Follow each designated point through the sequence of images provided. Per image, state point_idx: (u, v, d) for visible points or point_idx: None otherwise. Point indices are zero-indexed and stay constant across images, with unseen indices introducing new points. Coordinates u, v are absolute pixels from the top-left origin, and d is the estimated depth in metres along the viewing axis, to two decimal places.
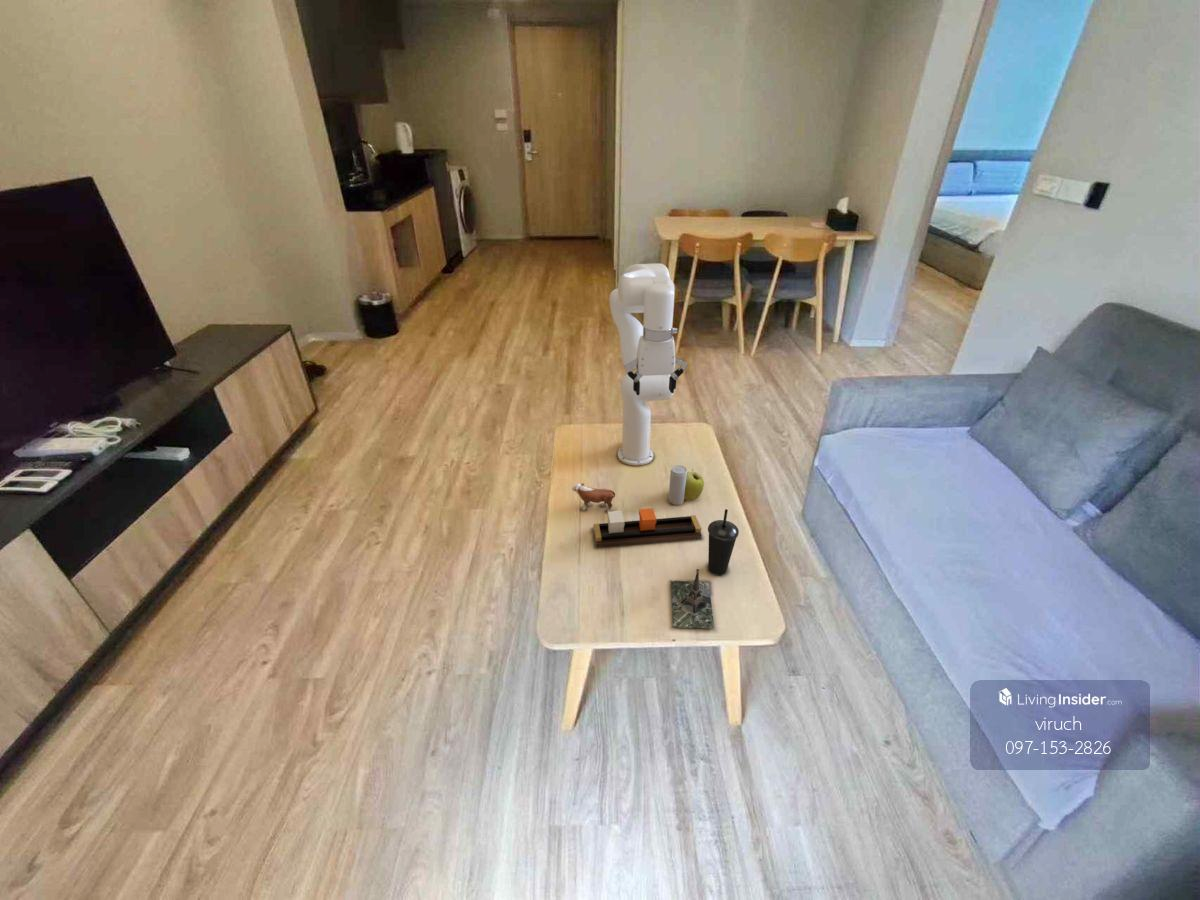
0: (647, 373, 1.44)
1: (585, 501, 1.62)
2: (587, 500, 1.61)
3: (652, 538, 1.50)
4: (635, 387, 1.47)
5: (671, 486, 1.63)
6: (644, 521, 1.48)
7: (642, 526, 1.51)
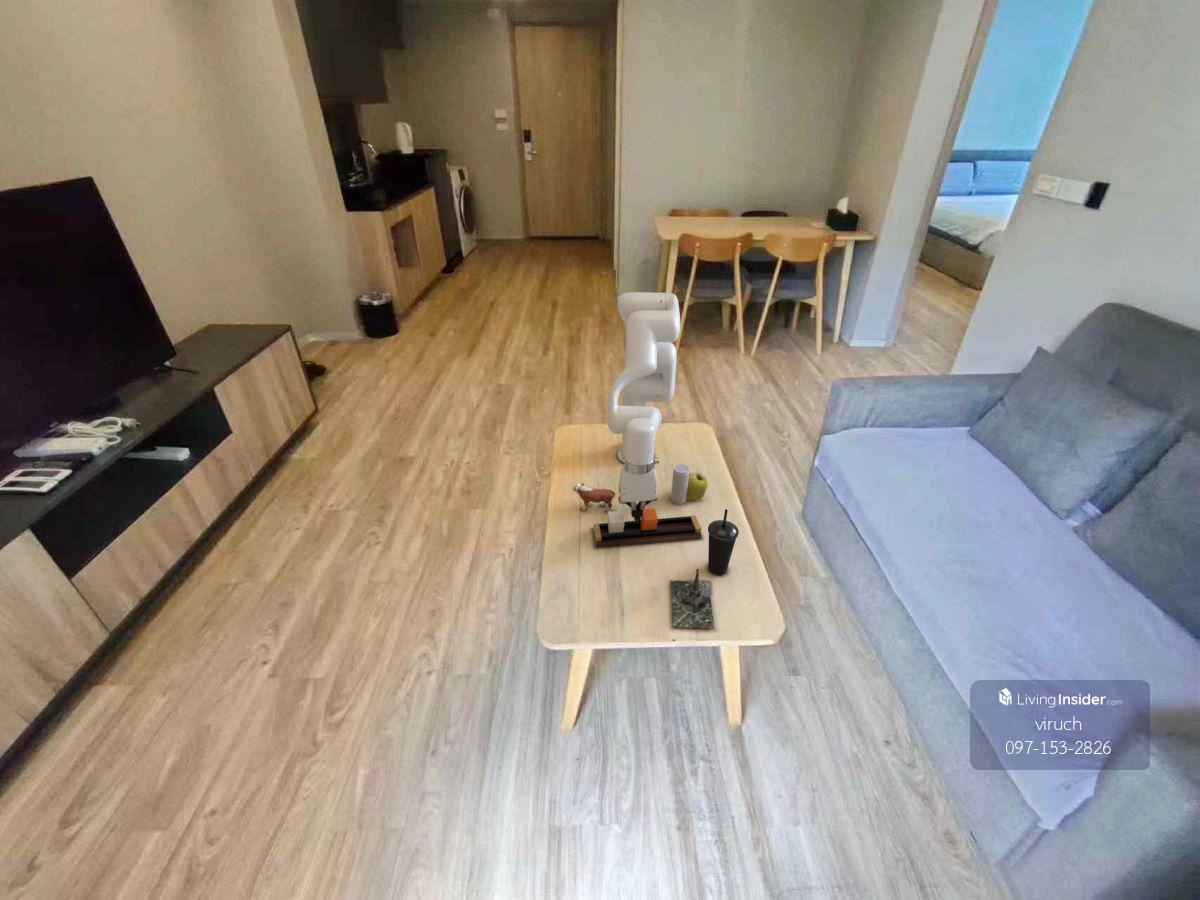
0: (629, 500, 1.44)
1: (585, 501, 1.62)
2: (587, 500, 1.61)
3: (652, 538, 1.50)
4: (633, 514, 1.48)
5: (673, 485, 1.63)
6: (646, 521, 1.48)
7: (644, 526, 1.51)
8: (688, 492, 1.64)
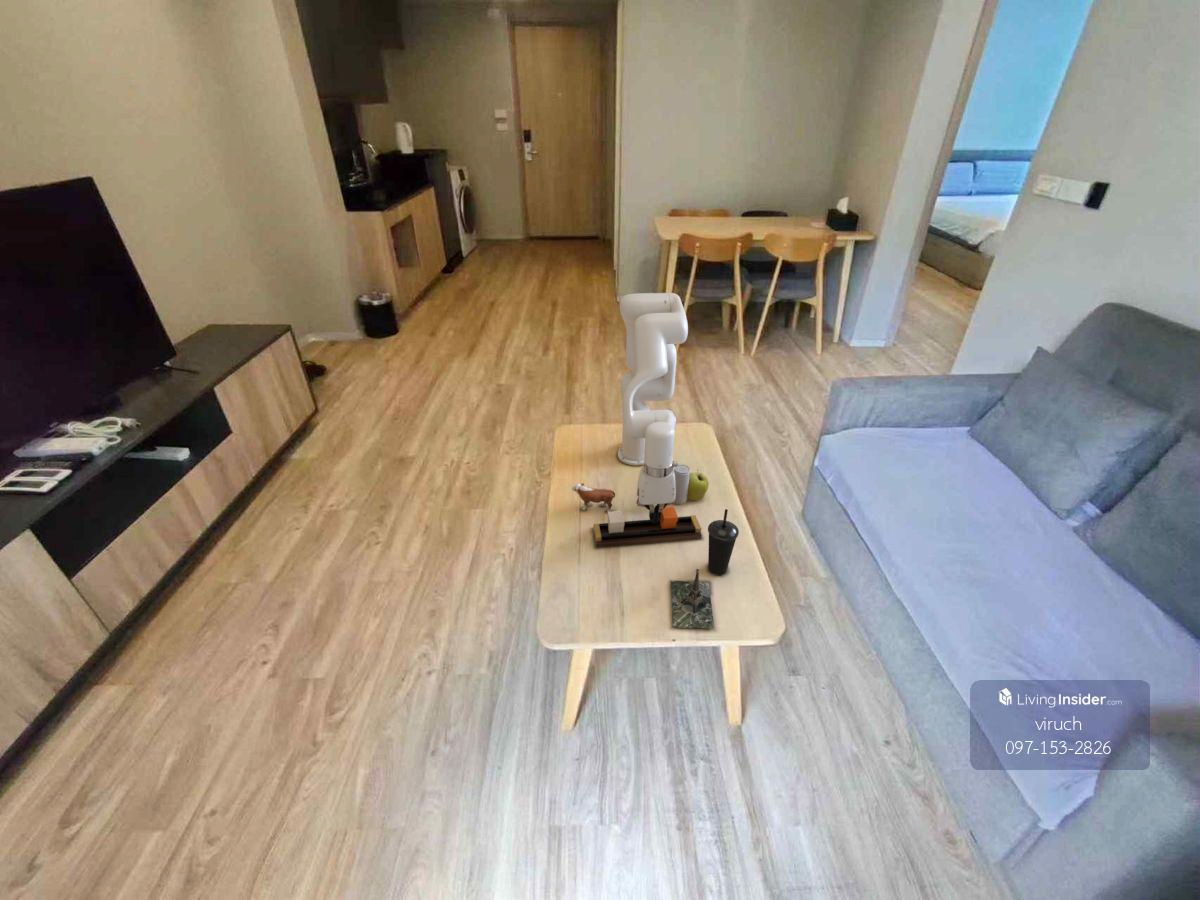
0: (648, 503, 1.46)
1: (585, 501, 1.62)
2: (587, 500, 1.61)
3: (652, 538, 1.50)
4: (651, 516, 1.50)
5: None
6: (666, 519, 1.49)
7: (663, 524, 1.51)
8: (689, 492, 1.64)
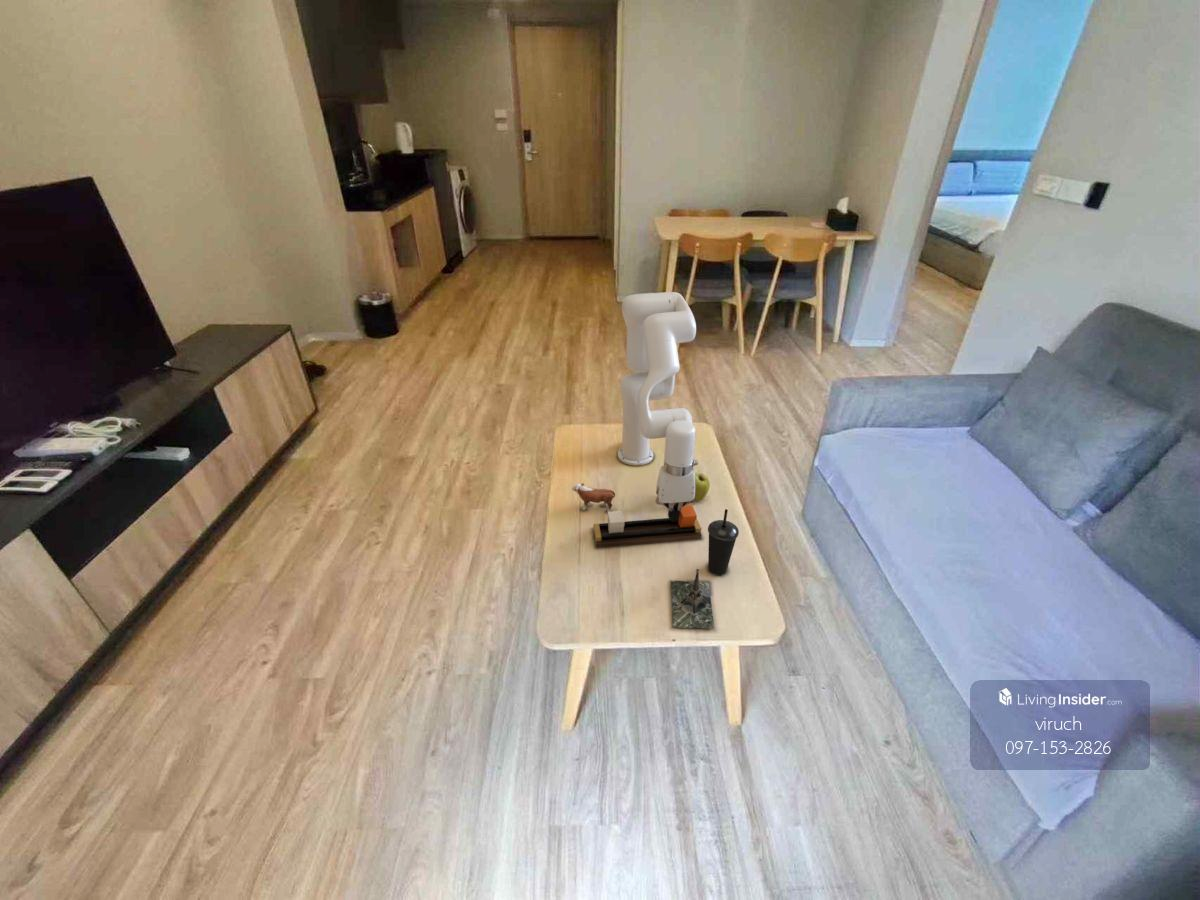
0: (667, 501, 1.46)
1: (585, 501, 1.62)
2: (587, 500, 1.61)
3: (652, 538, 1.50)
4: (670, 515, 1.50)
5: None
6: (685, 518, 1.49)
7: (682, 523, 1.52)
8: None
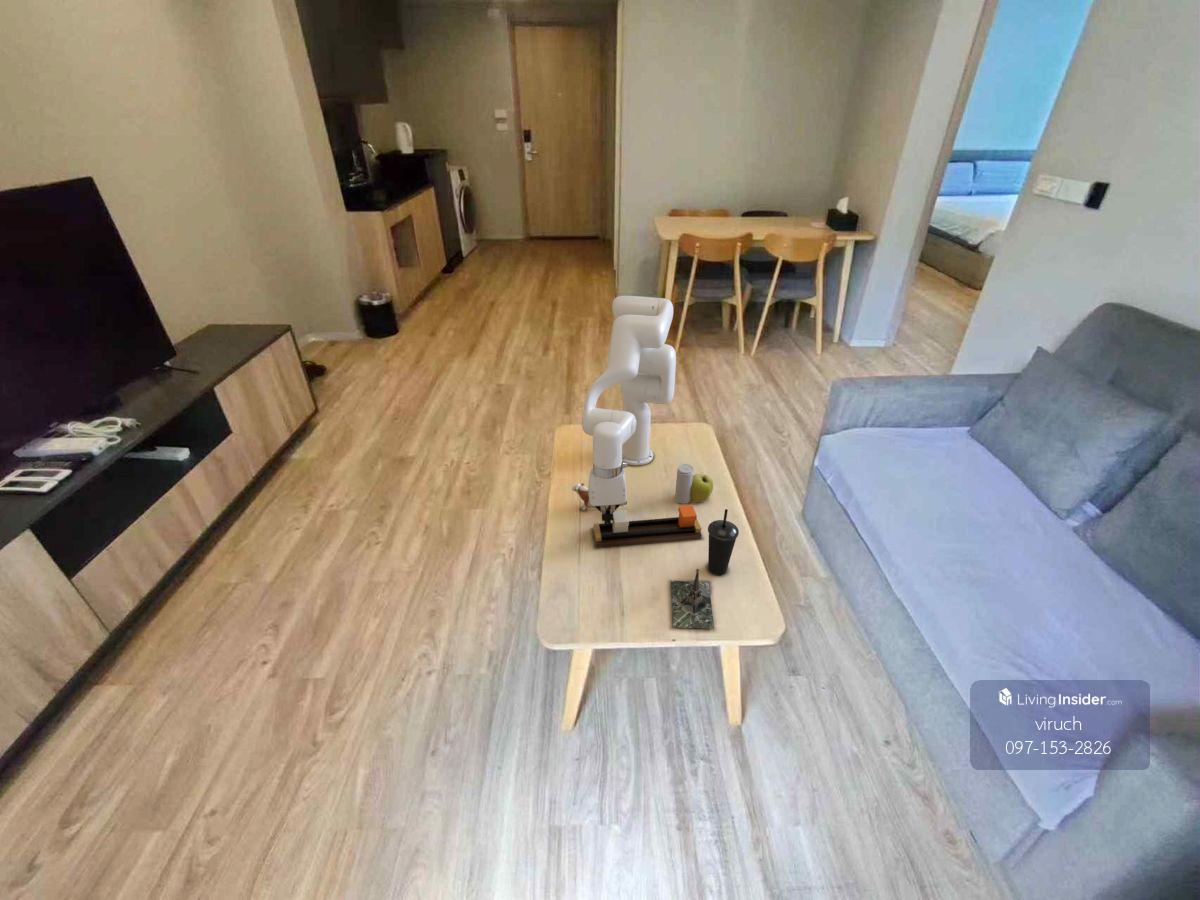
0: (598, 504, 1.44)
1: (585, 501, 1.62)
2: (587, 500, 1.61)
3: (652, 538, 1.50)
4: (603, 517, 1.48)
5: (676, 484, 1.64)
6: (685, 518, 1.49)
7: (682, 523, 1.52)
8: (691, 493, 1.64)
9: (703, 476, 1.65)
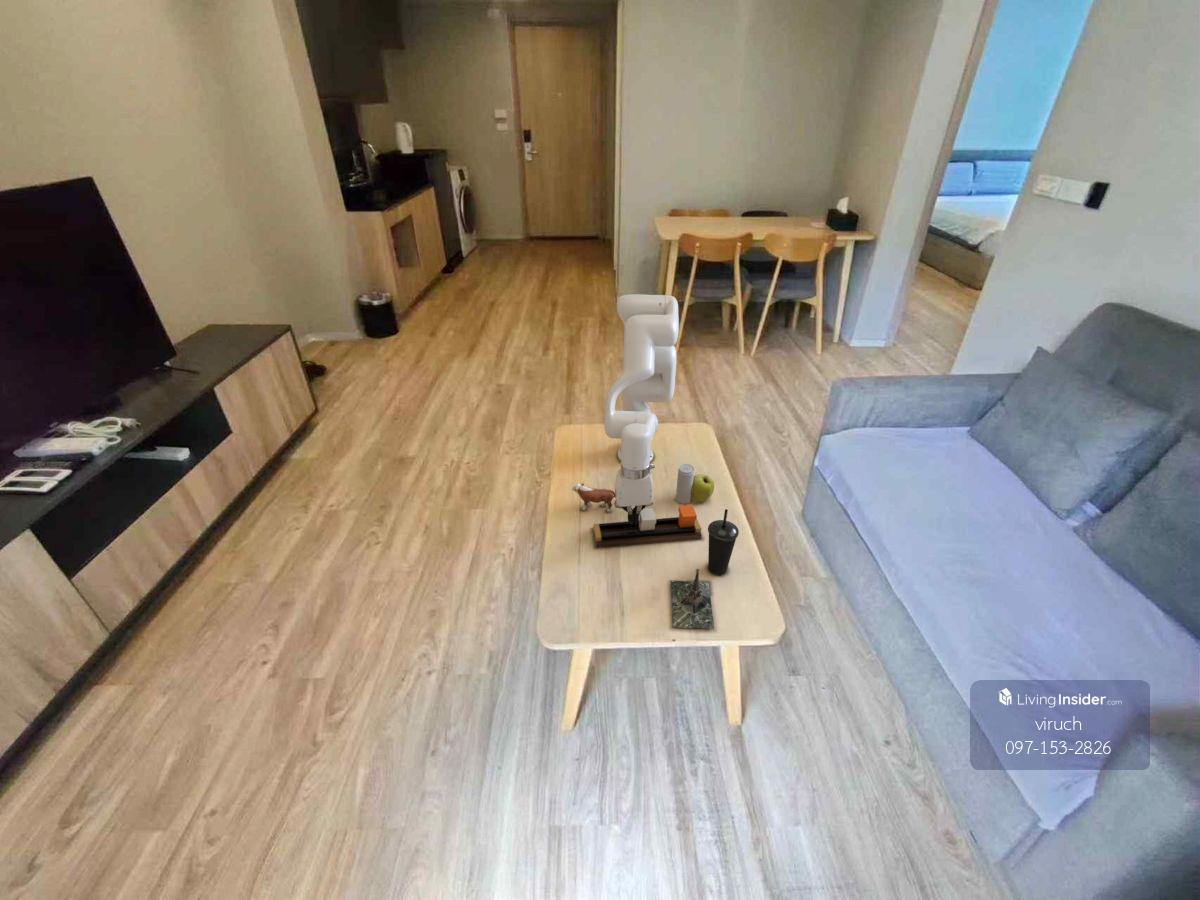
0: (625, 505, 1.45)
1: (585, 501, 1.62)
2: (587, 500, 1.61)
3: (652, 538, 1.50)
4: (629, 518, 1.49)
5: (677, 483, 1.64)
6: (685, 518, 1.49)
7: (682, 523, 1.52)
8: (692, 493, 1.64)
9: (704, 477, 1.64)
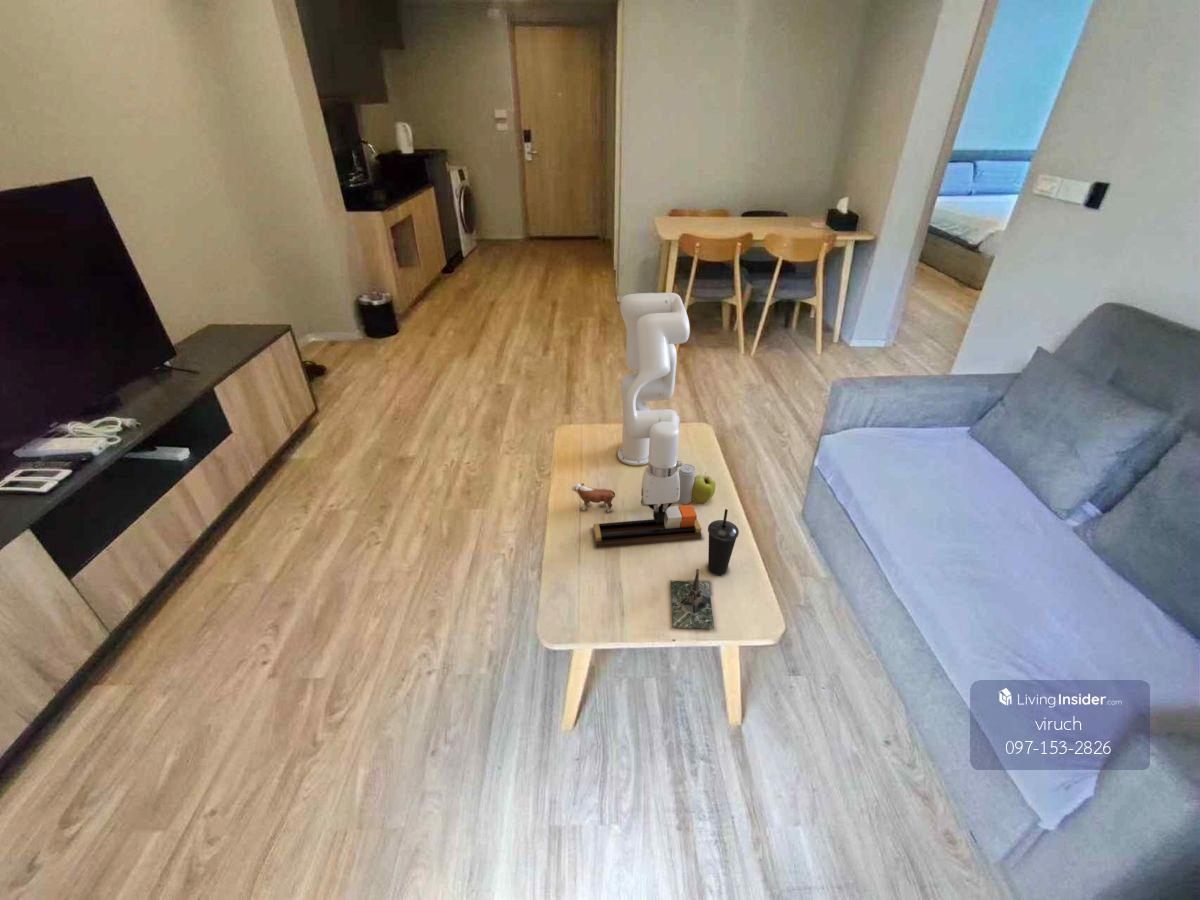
0: (652, 503, 1.46)
1: (585, 501, 1.62)
2: (587, 500, 1.61)
3: (652, 538, 1.50)
4: (655, 516, 1.50)
5: None
6: (685, 518, 1.49)
7: (682, 523, 1.52)
8: (693, 493, 1.64)
9: (706, 477, 1.64)
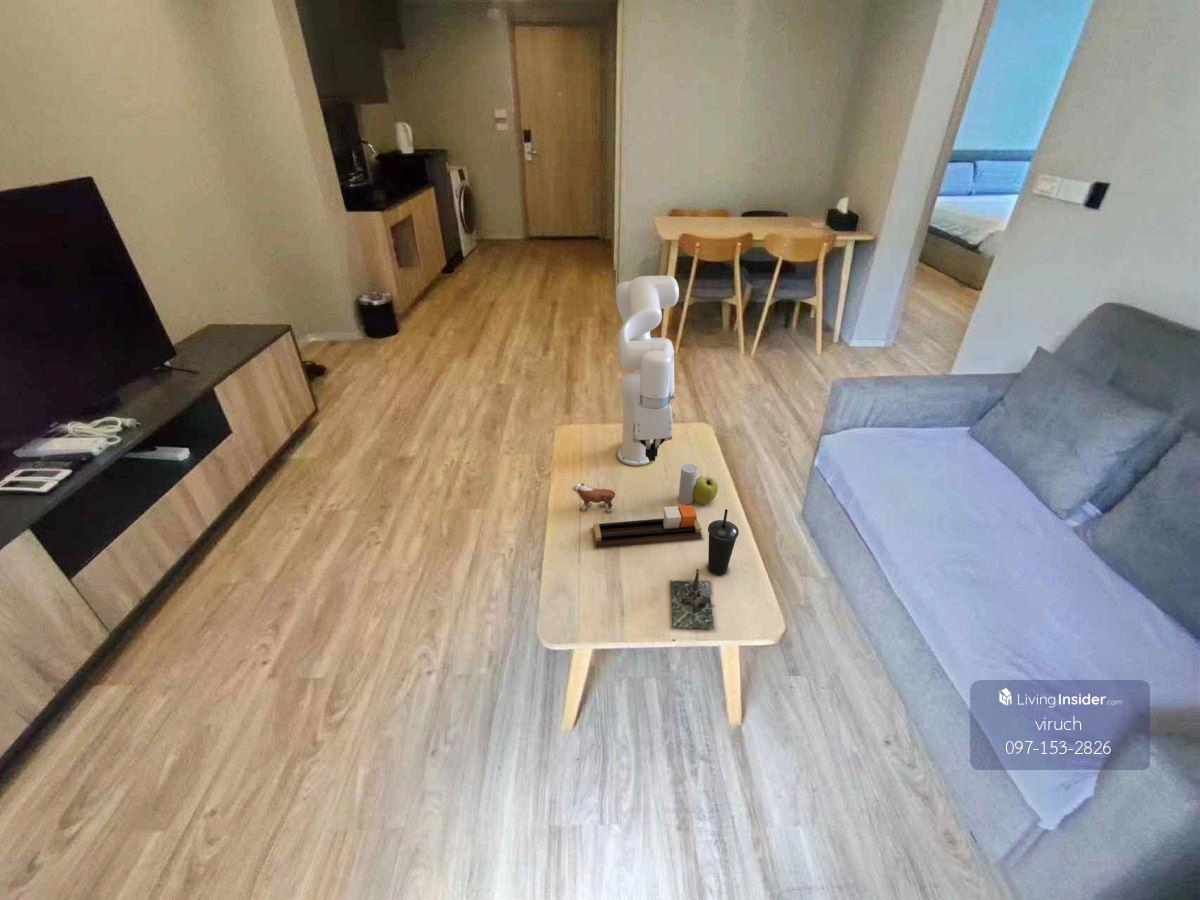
0: (644, 438, 1.41)
1: (585, 501, 1.62)
2: (587, 500, 1.61)
3: (652, 538, 1.50)
4: (647, 453, 1.46)
5: (680, 483, 1.64)
6: (685, 518, 1.49)
7: (682, 523, 1.52)
8: (694, 494, 1.64)
9: (708, 479, 1.63)
